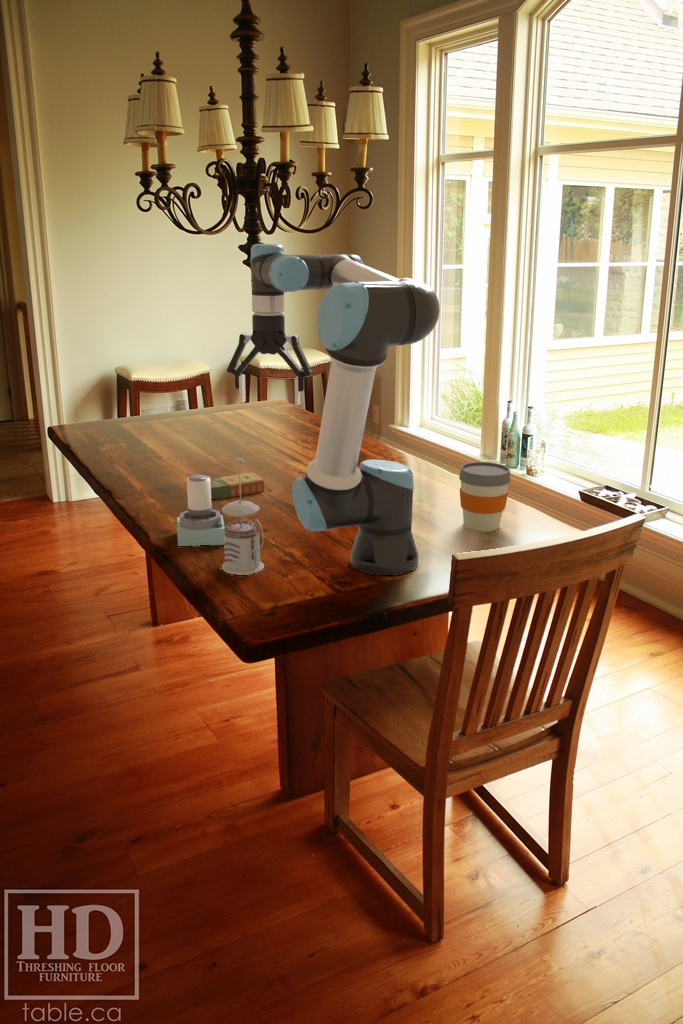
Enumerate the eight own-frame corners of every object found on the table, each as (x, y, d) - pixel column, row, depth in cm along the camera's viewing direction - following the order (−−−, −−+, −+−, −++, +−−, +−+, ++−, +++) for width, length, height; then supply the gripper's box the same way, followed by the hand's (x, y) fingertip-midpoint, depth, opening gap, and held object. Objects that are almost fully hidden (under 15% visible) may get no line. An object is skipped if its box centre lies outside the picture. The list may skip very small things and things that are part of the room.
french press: (247, 555, 193) (243, 449, 184) (279, 570, 185) (277, 460, 176) (211, 566, 186) (206, 457, 178) (243, 582, 178) (239, 469, 170)
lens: (213, 526, 199) (211, 480, 195) (188, 527, 198) (186, 481, 194) (212, 518, 204) (210, 473, 201) (188, 519, 203) (185, 474, 200)
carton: (264, 493, 237) (264, 478, 236) (211, 501, 230) (210, 487, 228) (252, 485, 244) (252, 471, 243) (200, 493, 237) (199, 478, 235)
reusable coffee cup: (486, 514, 221) (490, 459, 216) (516, 529, 210) (521, 472, 205) (446, 521, 215) (449, 465, 210) (475, 537, 205) (479, 478, 200)
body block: (225, 544, 199) (224, 520, 197) (178, 547, 197) (176, 523, 195) (223, 529, 208) (222, 507, 206) (177, 532, 206) (176, 509, 204)
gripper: (324, 313, 197) (323, 402, 204) (221, 310, 201) (224, 398, 208) (317, 316, 190) (317, 408, 197) (211, 313, 194) (215, 404, 201)
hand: (270, 403), depth 203 cm, fingers open, 13 cm apart
